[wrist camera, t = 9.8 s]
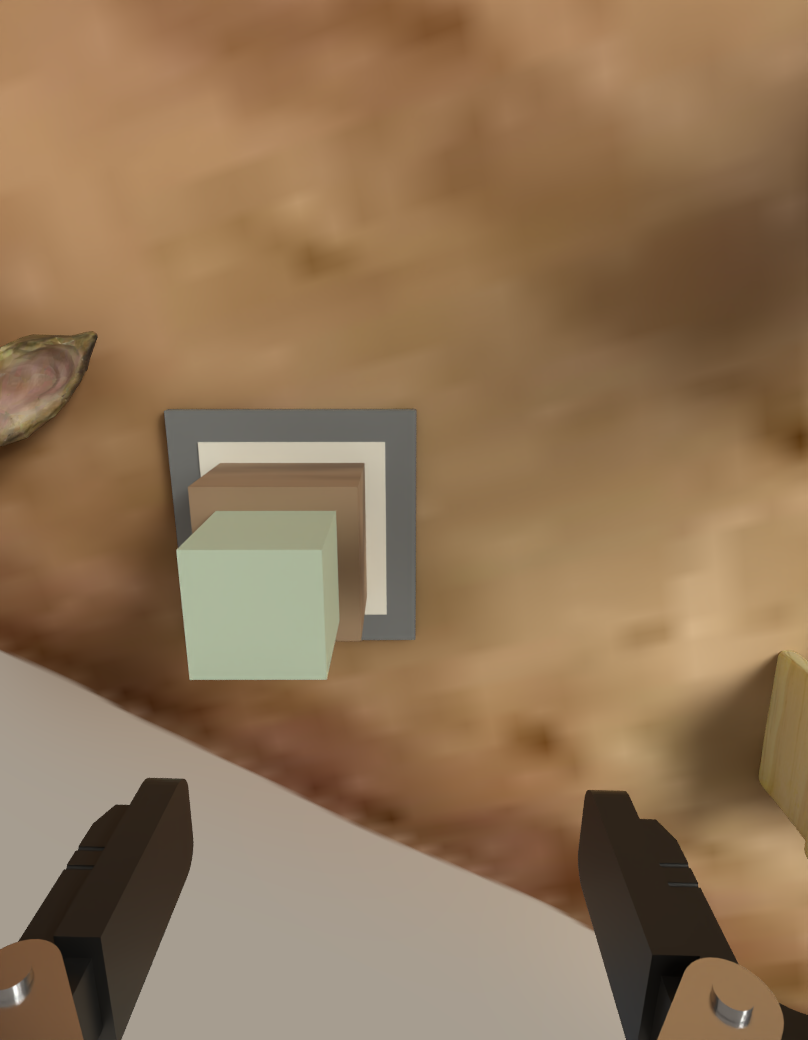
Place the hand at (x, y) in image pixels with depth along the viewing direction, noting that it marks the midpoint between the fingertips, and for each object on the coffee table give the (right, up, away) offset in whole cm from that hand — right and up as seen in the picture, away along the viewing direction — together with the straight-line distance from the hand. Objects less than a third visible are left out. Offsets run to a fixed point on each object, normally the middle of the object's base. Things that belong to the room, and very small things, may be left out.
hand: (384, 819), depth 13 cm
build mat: (-5, +6, +20) cm, 22 cm away
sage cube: (-5, +4, +15) cm, 16 cm away
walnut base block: (-5, +5, +20) cm, 21 cm away
